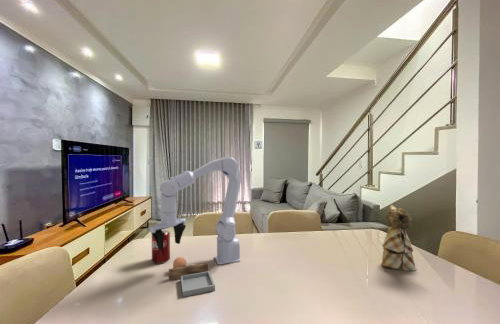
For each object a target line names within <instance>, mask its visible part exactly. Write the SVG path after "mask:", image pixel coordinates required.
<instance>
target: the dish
mask: <svg viewBox="0 0 500 324" xmlns="http://www.w3.org/2000/svg"><path fill="white" fill-rule="evenodd" d="M180 284H181V285H180V286H181V292H182V293H181V294H182V298H185V297H189V296H195V295H199V294H200V295H201V294H206V293H209V292H215V291H216V284H215V282H214V279H213V277H212V273H211V271H210V270H208V271H207V272H201V273H195V274H189V275H184V276H181V278H180Z"/></svg>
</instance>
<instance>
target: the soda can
mask: <svg viewBox="0 0 500 324" xmlns="http://www.w3.org/2000/svg"><path fill="white" fill-rule="evenodd" d="M161 231H162V232H164V233H165V234H164V239H163V250H159V249H158V246H157V243H156V240H155V238H154V237H153V235H152V234H151V263H153V264H158V265H160V264H161V263H162V264H165V263H167V262H168V261H170V260H171V232H170V231H169V230H166V229H163V230H161Z"/></svg>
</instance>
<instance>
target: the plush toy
mask: <svg viewBox="0 0 500 324" xmlns="http://www.w3.org/2000/svg"><path fill="white" fill-rule="evenodd" d="M389 205H390V206H389V209H388V215H386V217H385V219H387V220H386V221H387V224H388V228H387V233H386V236H385V237H384V240H383V244H381V246H382V247H383V251H382V259H381V260H382V261H381V266H383V267H386V268H389V269H392V270H401V271H409V272H413V271H417V267H416V264H415V260H414V255H413V252H414V248H413V245H412V242H411V240H410V237H409V235H408V234H407V231H406V229H408V228H409V229H411V228H412V223H413V217H412V216H410V214H409V212H408V211H406V210H405V209H404V207H402V208H400V207H399V208H398V207H396V206H394V204H389Z"/></svg>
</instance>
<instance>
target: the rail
mask: <svg viewBox="0 0 500 324" xmlns="http://www.w3.org/2000/svg"><path fill="white" fill-rule="evenodd" d="M207 271H209V263H208V262H204V263H199V264H192V265H186V266H185V267H179V268H173V267H172V268H168V281H173V280H178V279H181V276H184V275H189V274H195V273H201V272H207Z"/></svg>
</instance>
